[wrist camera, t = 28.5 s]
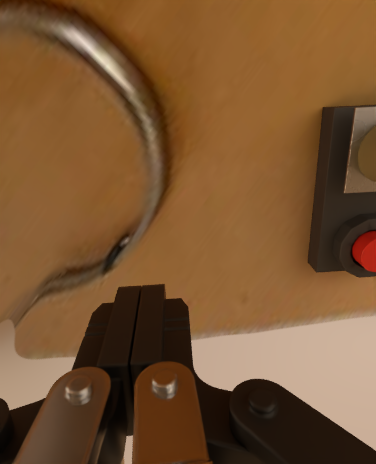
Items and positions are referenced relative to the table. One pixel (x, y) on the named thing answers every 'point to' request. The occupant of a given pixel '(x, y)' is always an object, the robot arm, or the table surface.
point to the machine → (338, 200)
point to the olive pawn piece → (368, 155)
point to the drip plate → (360, 127)
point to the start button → (366, 250)
